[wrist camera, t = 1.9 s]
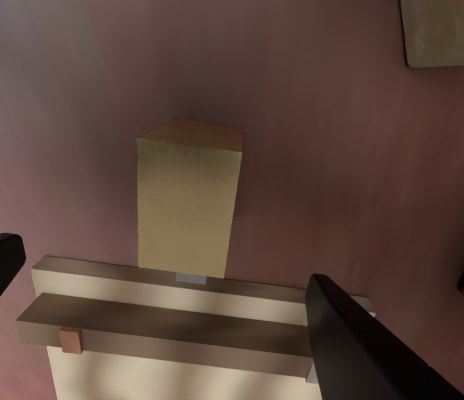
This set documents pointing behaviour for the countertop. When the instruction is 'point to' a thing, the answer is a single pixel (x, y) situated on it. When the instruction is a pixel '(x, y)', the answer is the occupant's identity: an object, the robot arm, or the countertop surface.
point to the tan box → (187, 197)
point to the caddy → (433, 32)
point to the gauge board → (167, 372)
